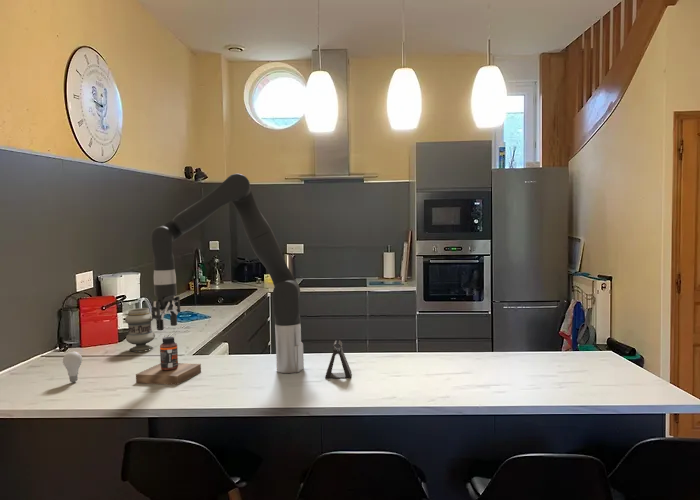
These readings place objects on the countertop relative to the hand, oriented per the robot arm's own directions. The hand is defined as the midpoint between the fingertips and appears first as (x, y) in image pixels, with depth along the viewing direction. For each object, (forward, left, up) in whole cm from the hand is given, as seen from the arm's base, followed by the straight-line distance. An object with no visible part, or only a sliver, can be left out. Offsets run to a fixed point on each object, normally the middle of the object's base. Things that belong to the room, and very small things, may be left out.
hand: (167, 327), depth 195 cm
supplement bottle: (0, 0, -15) cm, 15 cm away
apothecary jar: (+38, -38, -18) cm, 57 cm away
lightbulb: (+31, +11, -18) cm, 38 cm away
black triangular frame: (-60, -10, -18) cm, 63 cm away
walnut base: (0, 0, -18) cm, 18 cm away
